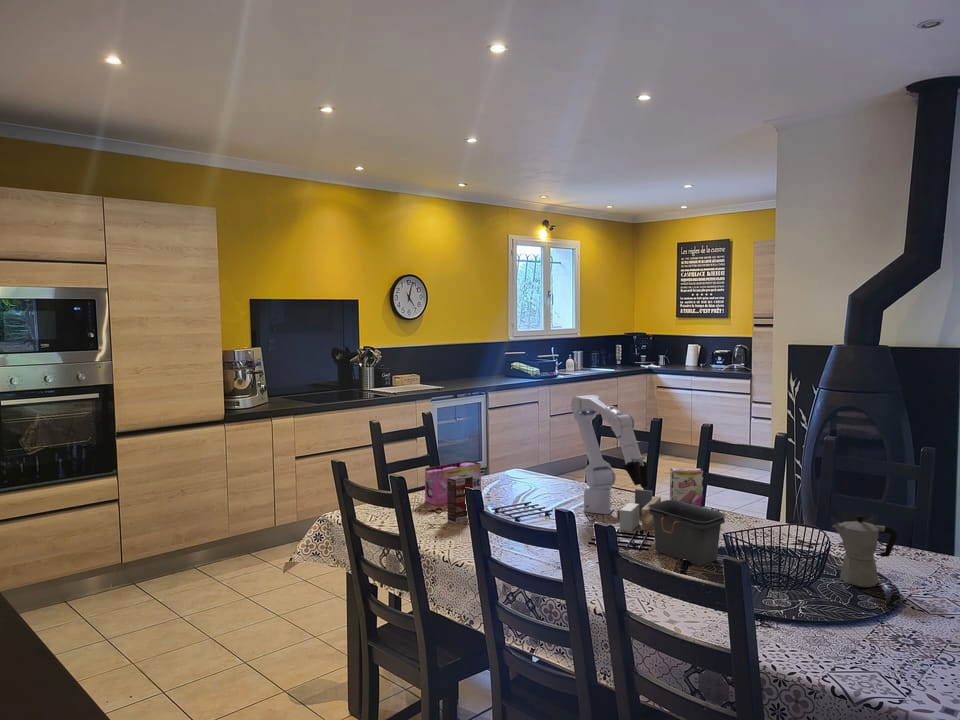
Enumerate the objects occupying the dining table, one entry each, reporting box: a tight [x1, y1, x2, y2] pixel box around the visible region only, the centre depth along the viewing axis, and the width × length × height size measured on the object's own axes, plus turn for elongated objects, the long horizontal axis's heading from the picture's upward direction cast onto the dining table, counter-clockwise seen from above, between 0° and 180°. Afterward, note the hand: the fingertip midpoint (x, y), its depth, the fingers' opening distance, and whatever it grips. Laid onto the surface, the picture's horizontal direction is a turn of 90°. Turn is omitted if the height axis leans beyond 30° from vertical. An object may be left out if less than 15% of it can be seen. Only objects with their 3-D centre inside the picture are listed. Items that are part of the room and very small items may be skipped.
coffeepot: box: [832, 514, 899, 588], centre depth 185 cm, size 15×9×18 cm, turn 68°
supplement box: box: [446, 475, 473, 525], centre depth 246 cm, size 9×5×16 cm, turn 131°
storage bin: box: [648, 499, 727, 567], centre depth 206 cm, size 21×16×14 cm
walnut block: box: [616, 505, 624, 520], centre depth 247 cm, size 3×6×3 cm, turn 151°
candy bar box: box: [669, 467, 704, 508], centre depth 250 cm, size 11×5×16 cm, turn 84°
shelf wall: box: [641, 496, 662, 531], centre depth 241 cm, size 2×18×7 cm, turn 152°
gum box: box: [424, 460, 482, 506], centre depth 276 cm, size 24×8×14 cm, turn 128°
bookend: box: [634, 488, 653, 514], centre depth 251 cm, size 6×3×9 cm, turn 62°
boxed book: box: [619, 502, 640, 532], centre depth 236 cm, size 4×10×7 cm, turn 152°
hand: (641, 486), depth 231 cm, fingers open, 7 cm apart
